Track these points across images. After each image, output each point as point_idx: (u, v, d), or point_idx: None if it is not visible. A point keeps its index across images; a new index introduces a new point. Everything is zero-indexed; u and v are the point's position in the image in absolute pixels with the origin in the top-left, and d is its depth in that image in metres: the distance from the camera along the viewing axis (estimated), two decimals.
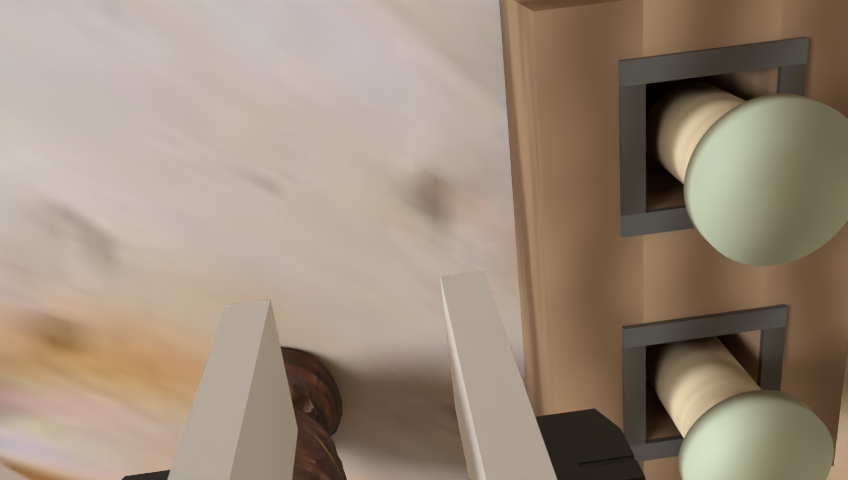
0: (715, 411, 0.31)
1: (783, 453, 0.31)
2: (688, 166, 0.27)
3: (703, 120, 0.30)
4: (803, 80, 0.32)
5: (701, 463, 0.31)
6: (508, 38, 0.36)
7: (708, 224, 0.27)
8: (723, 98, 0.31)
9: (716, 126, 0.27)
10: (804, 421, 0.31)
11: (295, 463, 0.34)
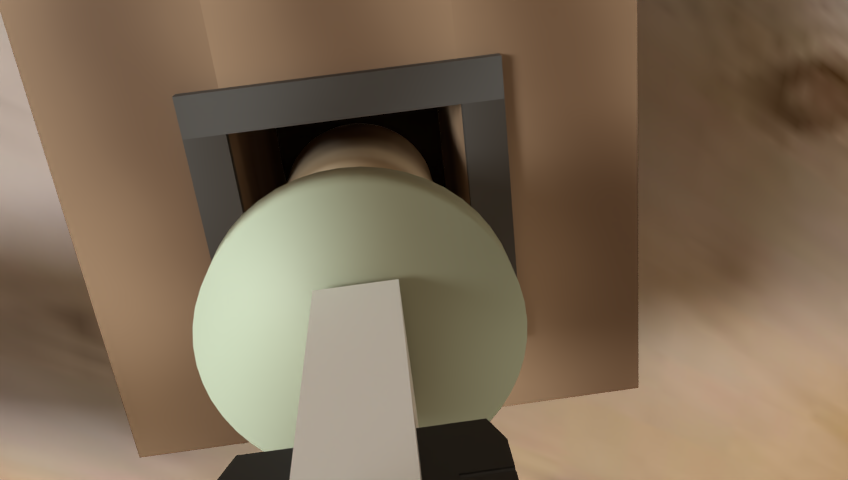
0: (249, 212, 0.14)
1: (409, 310, 0.14)
2: None
3: None
4: None
5: (220, 331, 0.14)
6: None
7: None
8: None
9: None
10: (442, 231, 0.13)
11: None
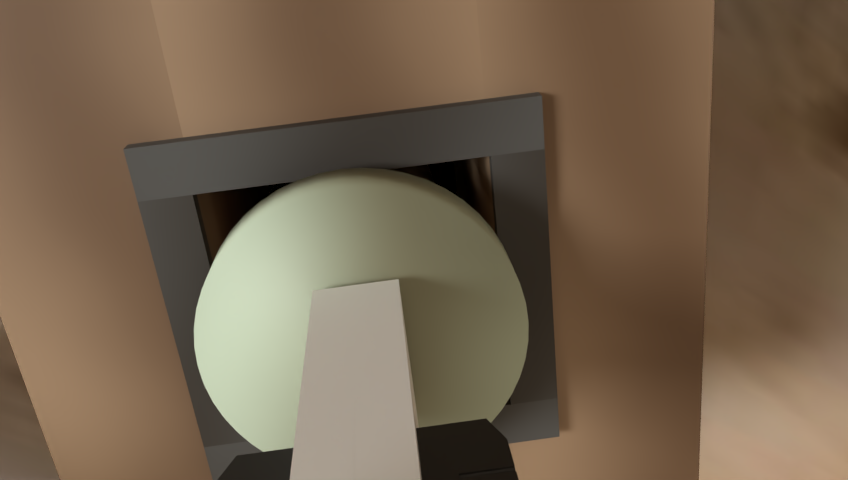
0: (250, 214, 0.14)
1: (410, 311, 0.14)
2: None
3: None
4: None
5: (221, 333, 0.14)
6: None
7: None
8: None
9: None
10: (444, 232, 0.13)
11: None
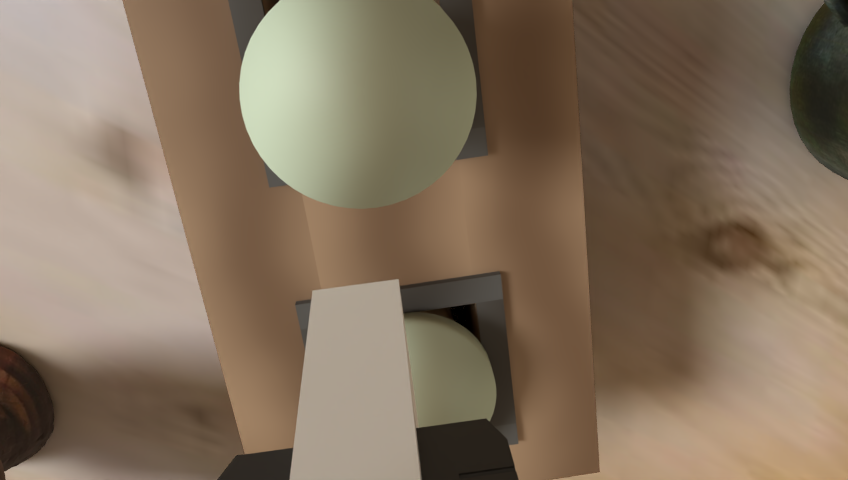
0: None
1: (437, 382, 0.28)
2: None
3: None
4: None
5: None
6: None
7: (270, 152, 0.20)
8: None
9: None
10: (452, 345, 0.28)
11: None
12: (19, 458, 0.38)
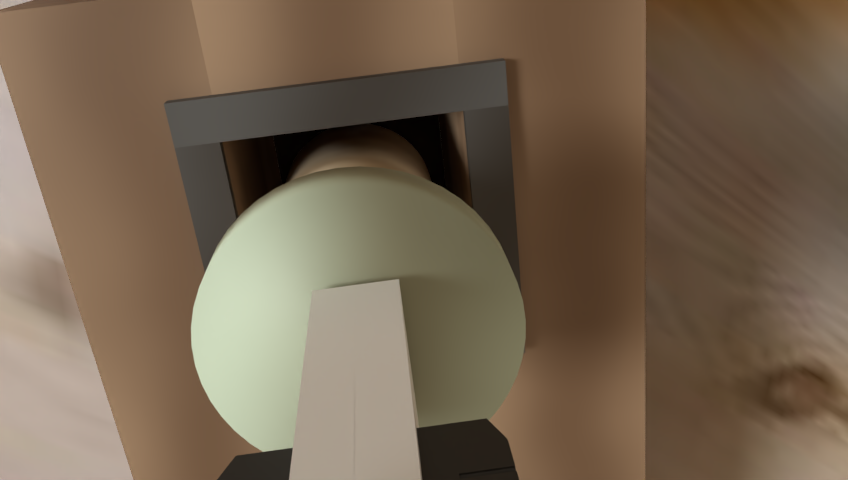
0: None
1: None
2: None
3: None
4: (507, 134, 0.18)
5: None
6: None
7: (235, 411, 0.14)
8: (348, 158, 0.18)
9: (229, 230, 0.14)
10: None
11: None
12: None
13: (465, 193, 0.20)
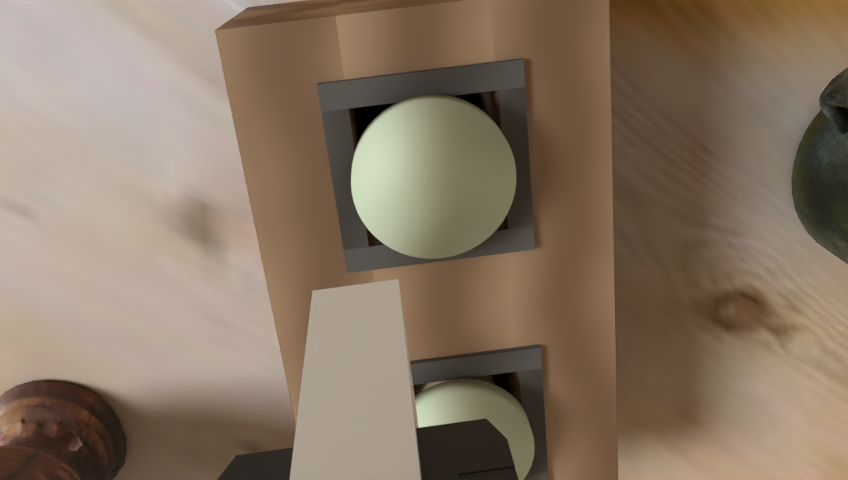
0: (417, 399, 0.33)
1: None
2: (352, 163, 0.29)
3: None
4: (524, 105, 0.29)
5: None
6: None
7: (369, 218, 0.29)
8: None
9: (370, 125, 0.28)
10: (499, 409, 0.32)
11: None
12: None
13: None
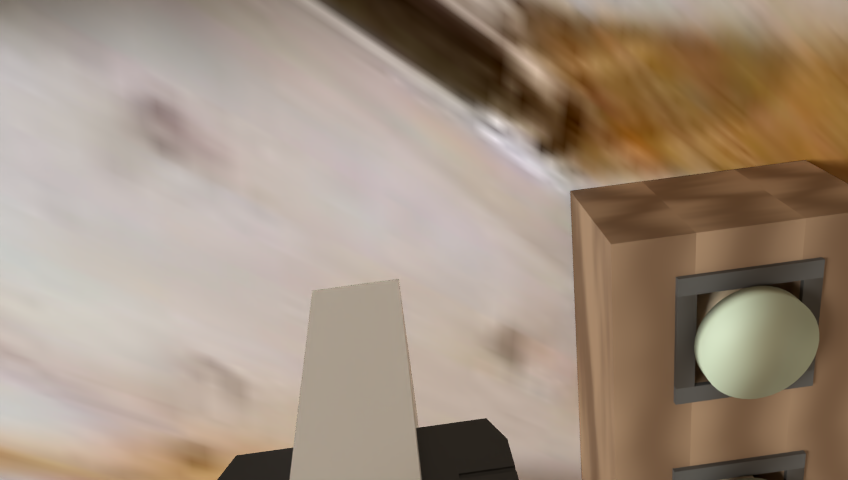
0: None
1: None
2: (697, 333, 0.40)
3: None
4: (820, 289, 0.40)
5: None
6: (579, 233, 0.45)
7: (711, 373, 0.40)
8: None
9: (716, 308, 0.39)
10: None
11: None
12: None
13: None
